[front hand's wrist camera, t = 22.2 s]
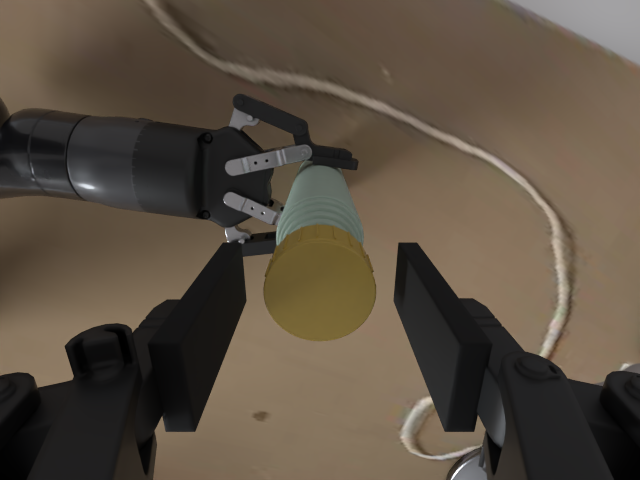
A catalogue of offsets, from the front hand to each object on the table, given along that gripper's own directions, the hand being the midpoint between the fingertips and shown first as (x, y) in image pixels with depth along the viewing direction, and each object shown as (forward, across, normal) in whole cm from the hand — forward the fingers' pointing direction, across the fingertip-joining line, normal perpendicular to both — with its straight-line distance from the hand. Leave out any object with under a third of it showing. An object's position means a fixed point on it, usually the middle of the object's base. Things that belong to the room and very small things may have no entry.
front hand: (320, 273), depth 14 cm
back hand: (+16, -3, 0) cm, 16 cm away
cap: (-2, 0, 0) cm, 2 cm away
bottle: (+22, 0, 0) cm, 22 cm away
